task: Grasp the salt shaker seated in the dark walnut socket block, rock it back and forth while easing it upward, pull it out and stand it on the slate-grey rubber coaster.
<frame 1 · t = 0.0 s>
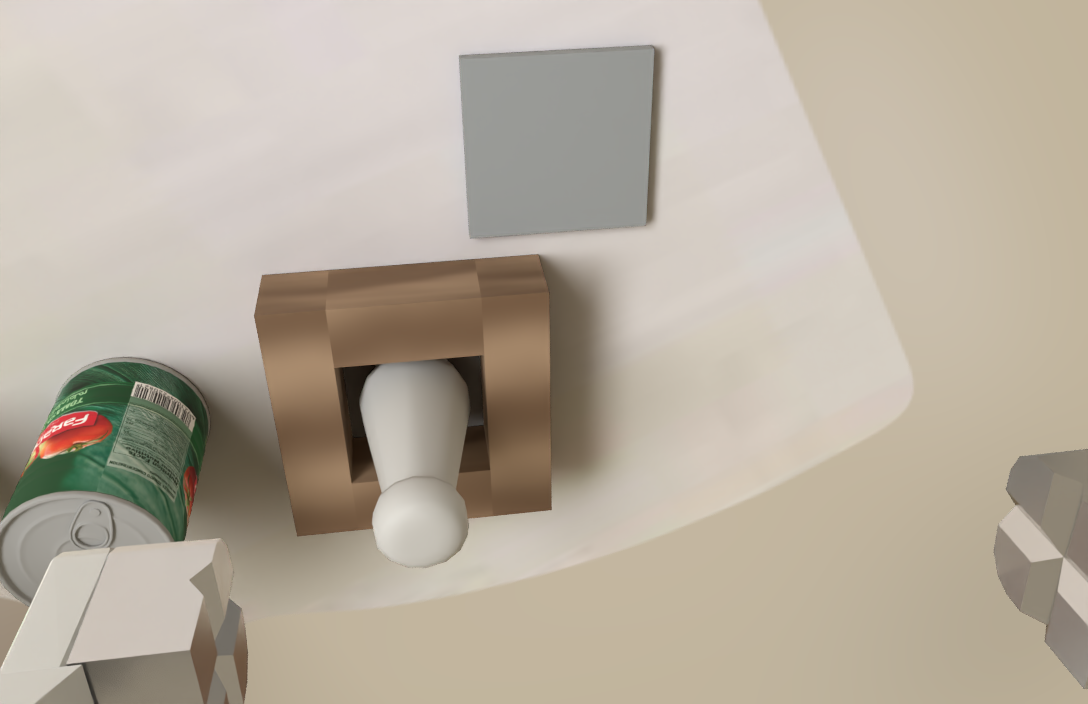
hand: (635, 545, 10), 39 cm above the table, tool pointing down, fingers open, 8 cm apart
salt shaker: (413, 375, 56), resting in socket block
canned tomato: (135, 415, 54), on the table
socket block: (413, 377, 55), on the table
coaster: (556, 142, 49), on the table
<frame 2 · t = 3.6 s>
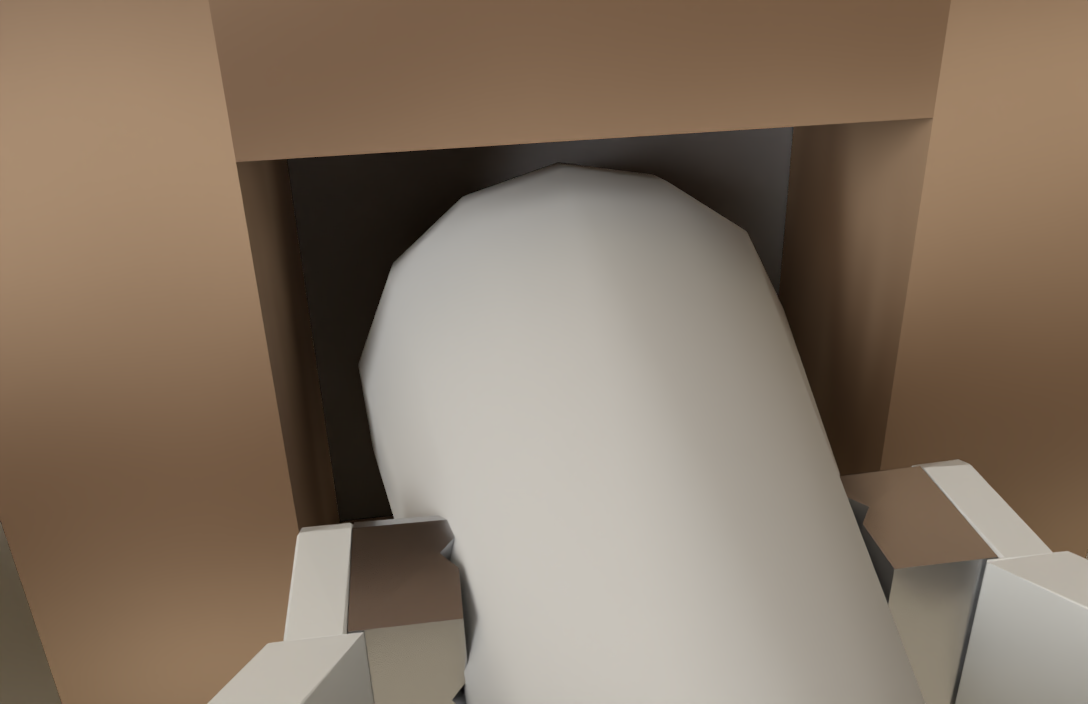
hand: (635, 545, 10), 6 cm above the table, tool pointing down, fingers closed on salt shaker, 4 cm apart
salt shaker: (549, 299, 16), resting in socket block, touching gripper
socket block: (551, 304, 16), on the table
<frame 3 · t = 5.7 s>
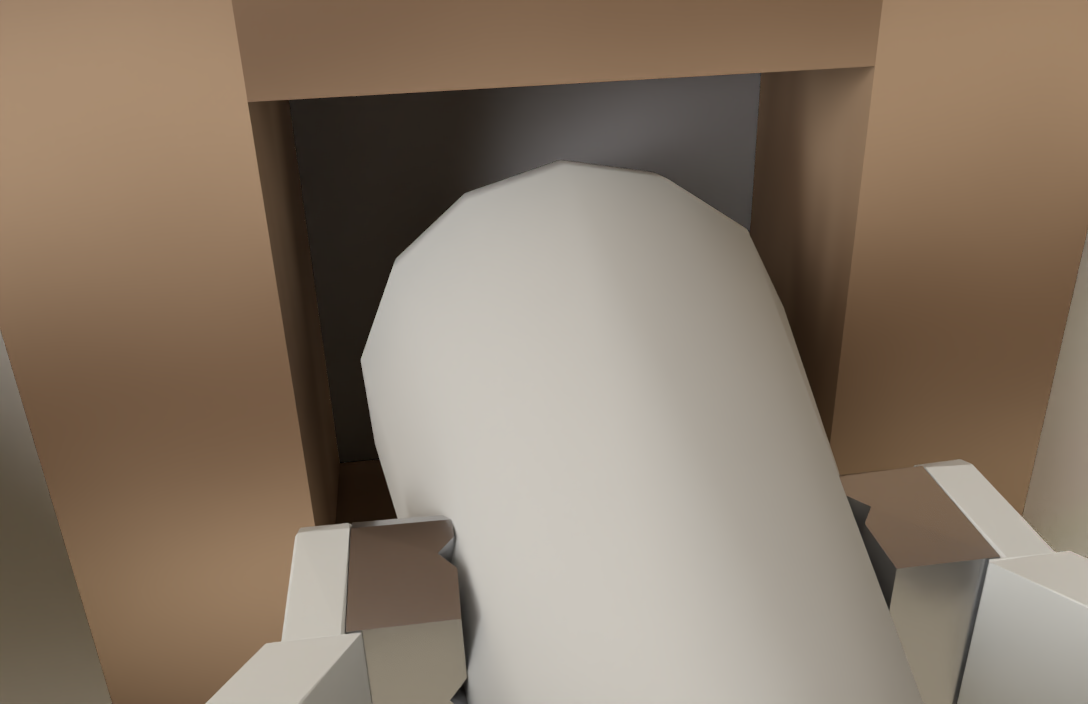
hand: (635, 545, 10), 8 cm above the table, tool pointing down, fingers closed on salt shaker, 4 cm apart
salt shaker: (550, 296, 16), point 1 cm above the table, touching gripper
socket block: (536, 256, 17), on the table
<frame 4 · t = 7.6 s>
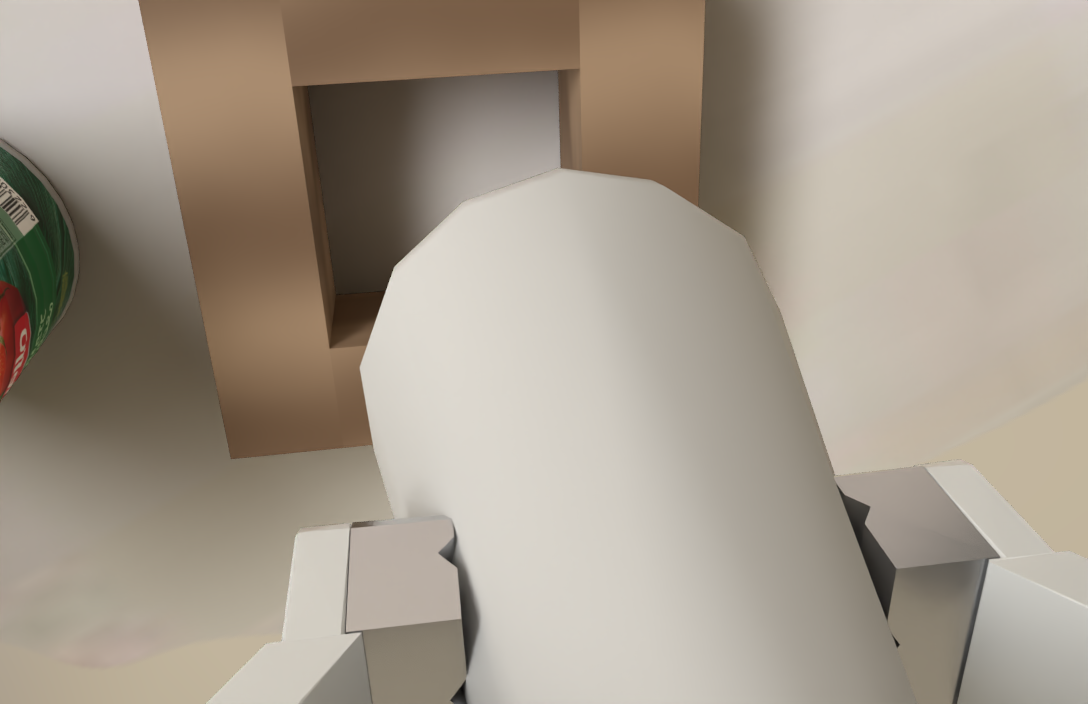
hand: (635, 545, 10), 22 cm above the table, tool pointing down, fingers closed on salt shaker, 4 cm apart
salt shaker: (549, 303, 16), point 16 cm above the table, touching gripper
socket block: (442, 174, 31), on the table
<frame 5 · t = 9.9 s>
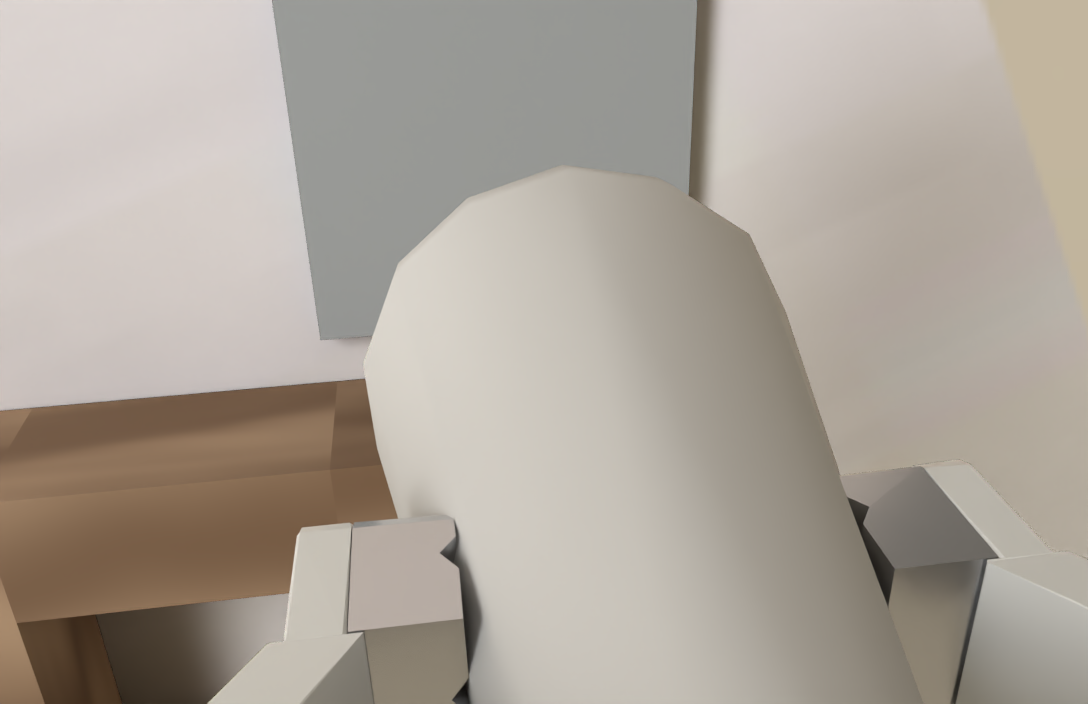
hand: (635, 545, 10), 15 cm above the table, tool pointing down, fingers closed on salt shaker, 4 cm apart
salt shaker: (552, 301, 16), point 8 cm above the table, touching gripper
socket block: (234, 609, 29), on the table
coaster: (494, 138, 23), on the table
when the fingers open (8 cm above the table, at t = 11.6 s): salt shaker stays where it is, resting on coaster.
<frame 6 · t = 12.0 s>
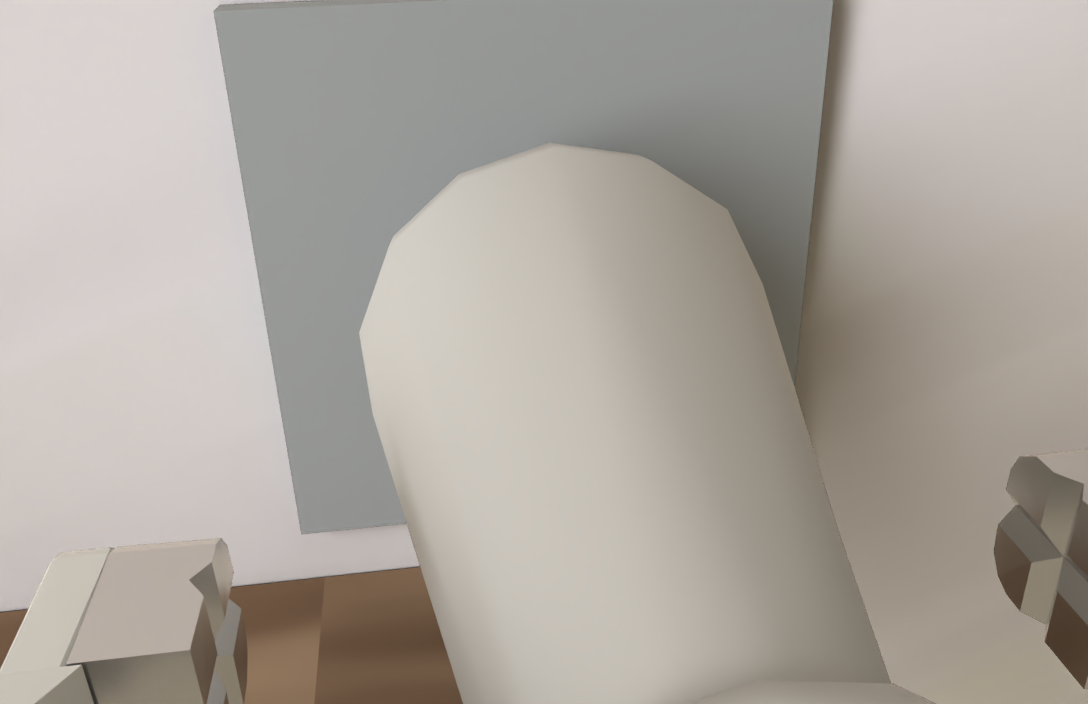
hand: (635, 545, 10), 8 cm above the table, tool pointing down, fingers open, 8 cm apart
salt shaker: (541, 276, 17), resting on coaster
coaster: (538, 270, 17), on the table
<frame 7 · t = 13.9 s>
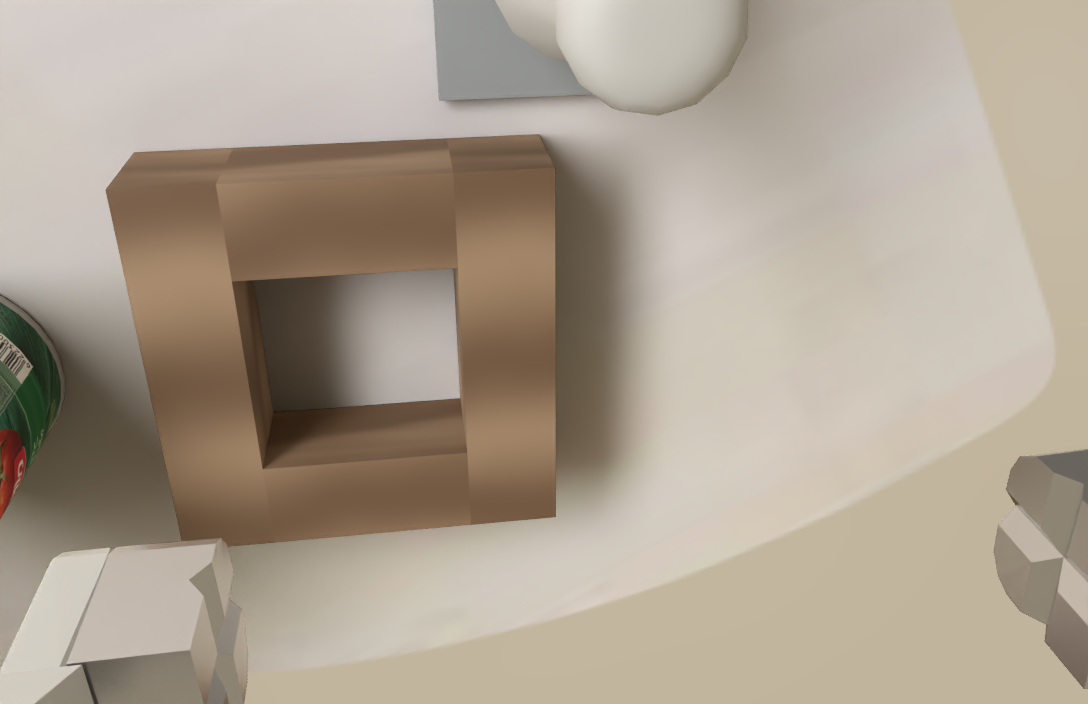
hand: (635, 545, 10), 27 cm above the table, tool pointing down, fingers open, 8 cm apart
socket block: (359, 322, 39), on the table
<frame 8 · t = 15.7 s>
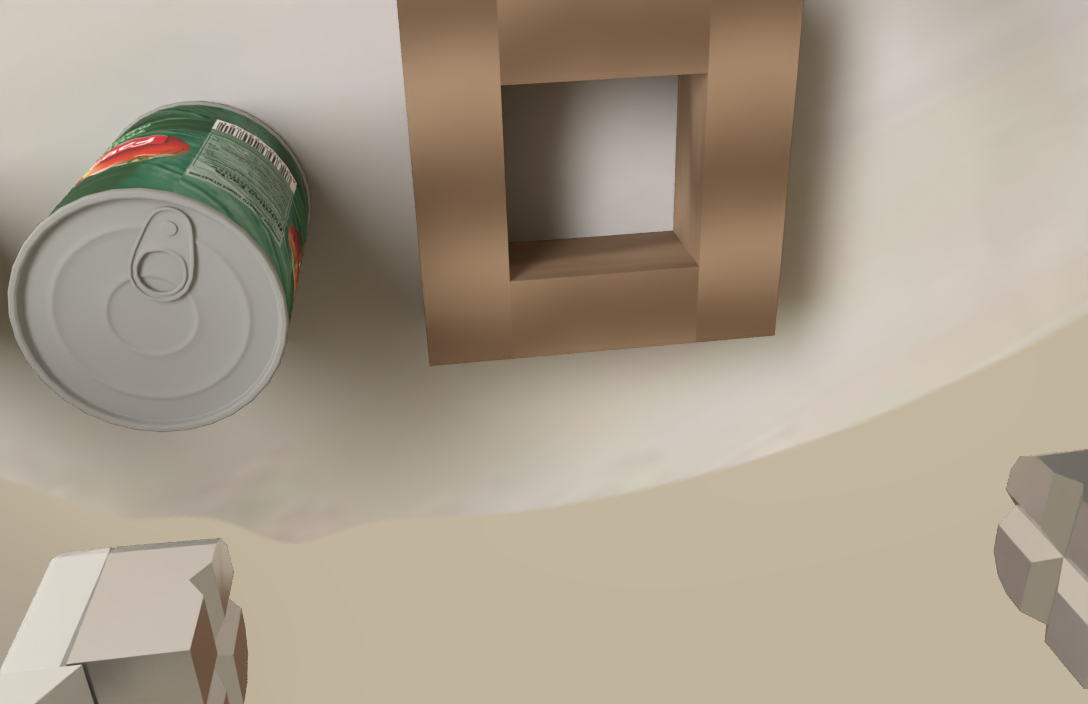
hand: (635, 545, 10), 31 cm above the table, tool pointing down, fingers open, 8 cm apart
canned tomato: (209, 199, 40), on the table
socket block: (586, 150, 41), on the table
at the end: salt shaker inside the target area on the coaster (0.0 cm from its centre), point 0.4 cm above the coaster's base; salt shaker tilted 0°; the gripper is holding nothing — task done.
